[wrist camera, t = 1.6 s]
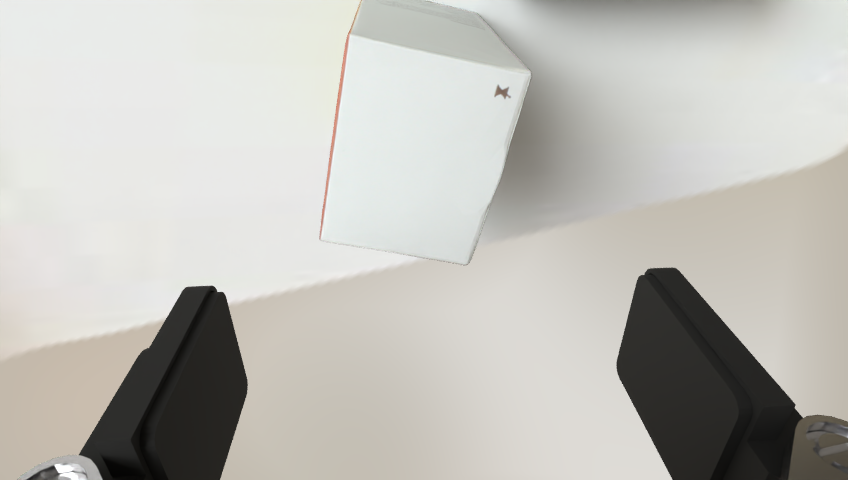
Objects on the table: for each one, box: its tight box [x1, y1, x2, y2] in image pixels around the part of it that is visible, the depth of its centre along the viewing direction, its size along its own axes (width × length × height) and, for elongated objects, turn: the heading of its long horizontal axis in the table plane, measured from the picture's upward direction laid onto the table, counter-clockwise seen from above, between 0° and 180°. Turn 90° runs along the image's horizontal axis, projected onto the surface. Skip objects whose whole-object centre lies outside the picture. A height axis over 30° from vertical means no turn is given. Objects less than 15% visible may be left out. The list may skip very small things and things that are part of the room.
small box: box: [319, 0, 532, 265], centre depth 24 cm, size 8×6×13 cm
